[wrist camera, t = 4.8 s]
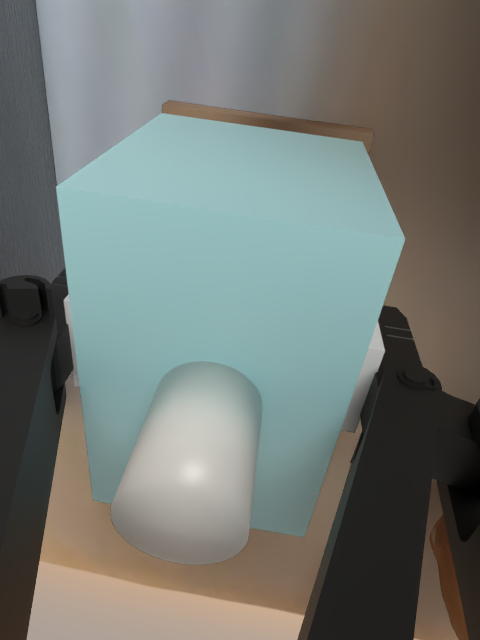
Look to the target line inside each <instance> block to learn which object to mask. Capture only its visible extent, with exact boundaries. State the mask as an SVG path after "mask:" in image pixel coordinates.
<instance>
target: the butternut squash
mask: <svg viewBox="0 0 480 640" xmlns="http://www.w3.org/2000/svg"><path fill="white" fill-rule="evenodd" d="M430 542H431V546H432V549H433V552H434V554H435V557H436V559H437V563H438V568H439V577H440V585H441V591H442V596H443V599H444V602H445V605H446V608H447V611H448V614H449V618H450V622H451V625H452V627H453V629H454V631H455V633H456V635H457V637H458V639H459V640H469V637H468V632H467V627H466V622H465V617H464V612H463V608H462V603H461V598H460V593H459V588H458V583H457V578H456V573H455V568H454V563H453V559H452V554H451V549H450V544H449V539H448V534H447V529H446V524H445V519H444V514H443V516H442V517H441V518H440V519H439V521H438V522H437V523H436V524H435V526H434V528H433V530H432V532H431V533H430Z"/></svg>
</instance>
